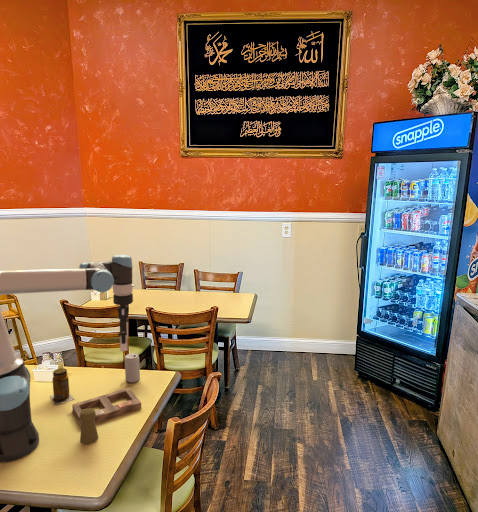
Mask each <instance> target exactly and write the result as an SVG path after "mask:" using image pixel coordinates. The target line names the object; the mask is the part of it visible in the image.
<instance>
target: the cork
mask: <svg viewBox="0 0 478 512" xmlns="http://www.w3.org/2000/svg"><path fill="white" fill-rule="evenodd" d="M95 411H96V410H95V409H94V408H91V407H90V408H87V409H84V410H82V412H81V413H80V420H81V421H82V424H81V425H80V439H79V442H80V444H82V445H85V446H87V445H92V444H94V443H96V442H97V441H98V439H99V435H98V434H99V433H98V431H97V430H98V429H97V425H96V424H97V423H95V420H94V418H95V416H96V413H95Z"/></svg>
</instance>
